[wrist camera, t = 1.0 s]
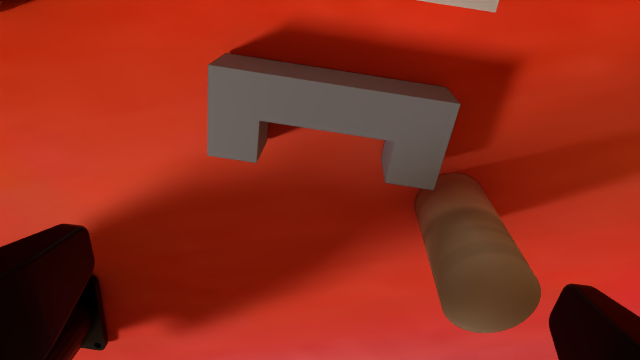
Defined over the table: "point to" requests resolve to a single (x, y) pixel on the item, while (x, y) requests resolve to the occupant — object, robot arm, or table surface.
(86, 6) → the table surface
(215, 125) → the block
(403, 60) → the table surface
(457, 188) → the dowel
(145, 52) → the table surface
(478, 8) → the wall
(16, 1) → the supplement bottle
